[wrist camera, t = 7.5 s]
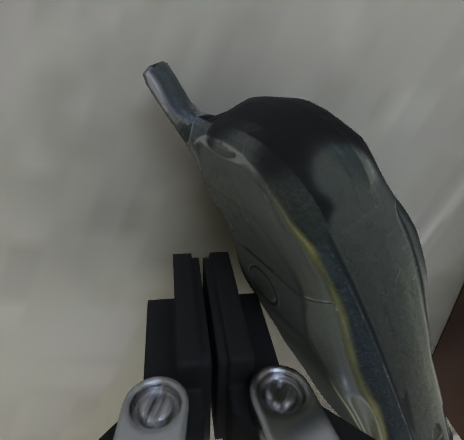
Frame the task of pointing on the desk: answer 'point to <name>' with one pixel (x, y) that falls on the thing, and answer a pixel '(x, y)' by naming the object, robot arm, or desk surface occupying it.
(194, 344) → the robot arm
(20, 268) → the desk surface
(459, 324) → the wooden block
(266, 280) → the mobile phone
